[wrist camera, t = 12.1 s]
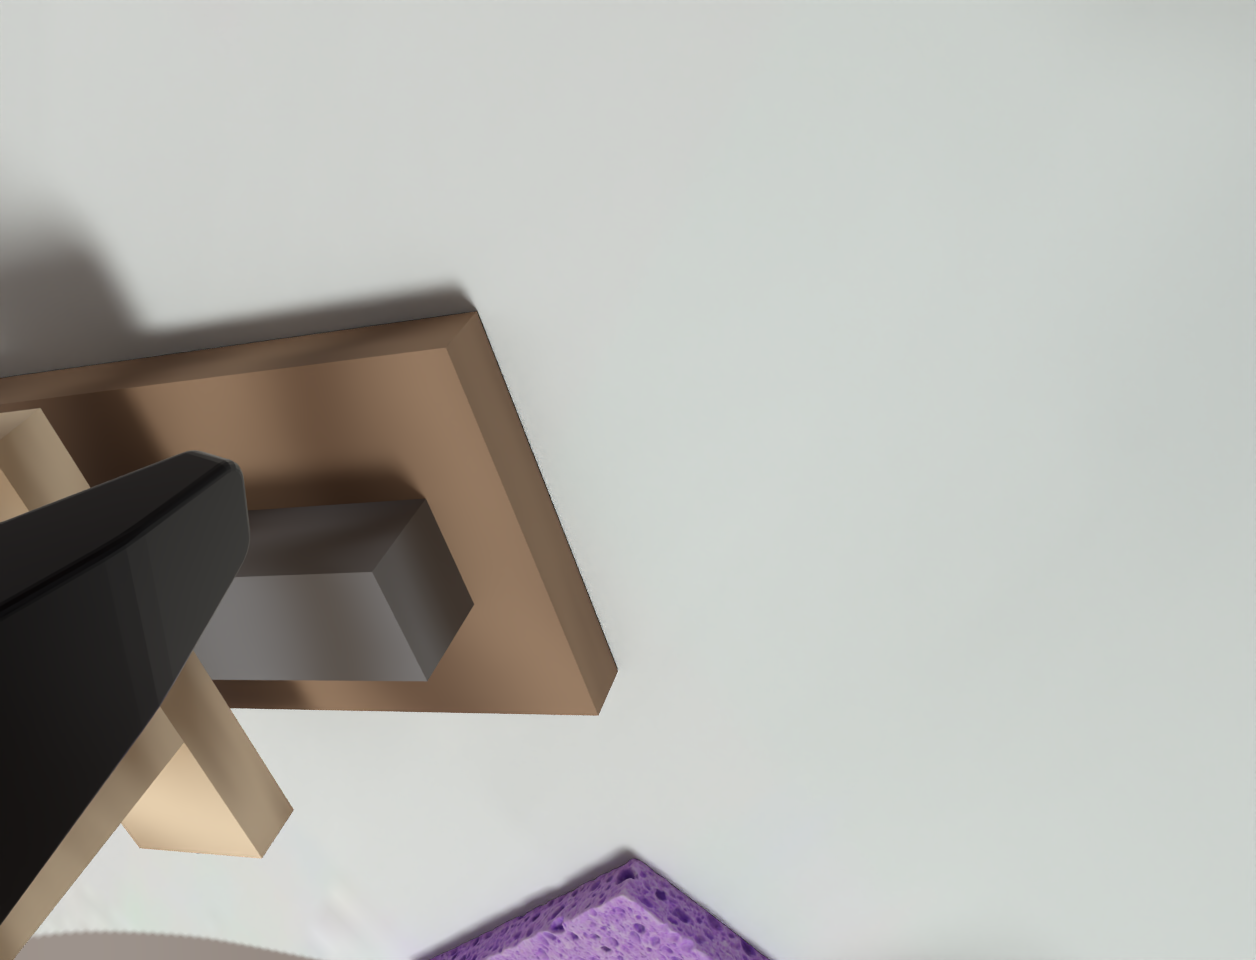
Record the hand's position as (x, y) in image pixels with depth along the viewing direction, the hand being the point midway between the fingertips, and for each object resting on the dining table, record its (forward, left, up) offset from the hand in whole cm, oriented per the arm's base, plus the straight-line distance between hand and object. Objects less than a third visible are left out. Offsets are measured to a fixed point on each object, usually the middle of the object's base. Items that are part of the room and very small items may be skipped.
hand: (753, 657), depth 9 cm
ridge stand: (0, +21, -13) cm, 25 cm away
